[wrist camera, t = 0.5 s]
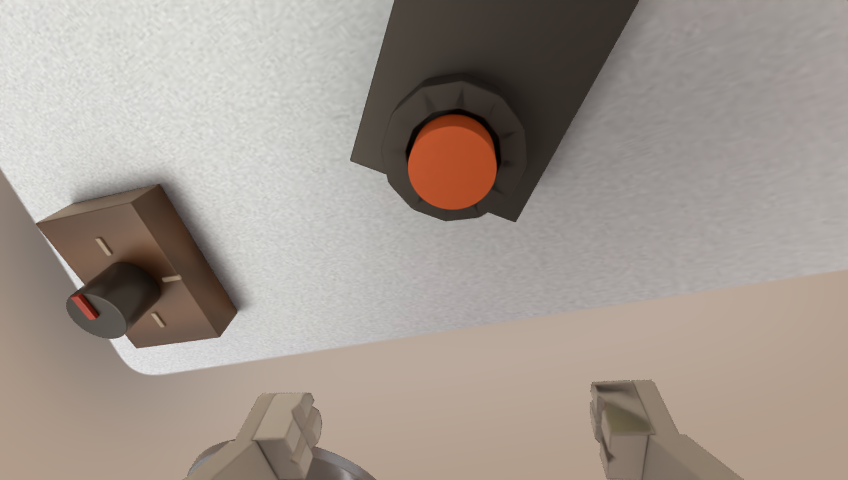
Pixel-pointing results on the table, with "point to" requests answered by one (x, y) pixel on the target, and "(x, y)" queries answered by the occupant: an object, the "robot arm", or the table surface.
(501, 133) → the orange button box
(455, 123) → the push button
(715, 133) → the table surface
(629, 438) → the robot arm
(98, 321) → the knob
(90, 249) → the walnut panel
